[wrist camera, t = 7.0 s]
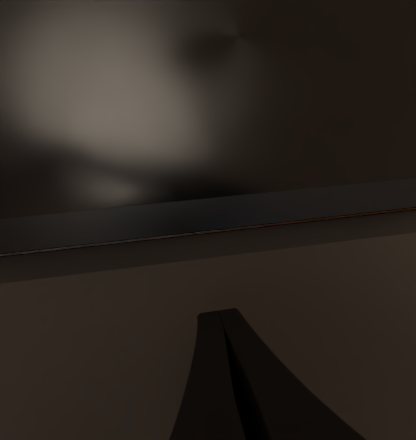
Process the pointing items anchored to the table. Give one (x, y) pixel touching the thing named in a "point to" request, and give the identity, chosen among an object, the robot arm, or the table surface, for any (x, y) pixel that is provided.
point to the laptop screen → (187, 325)
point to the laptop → (200, 115)
